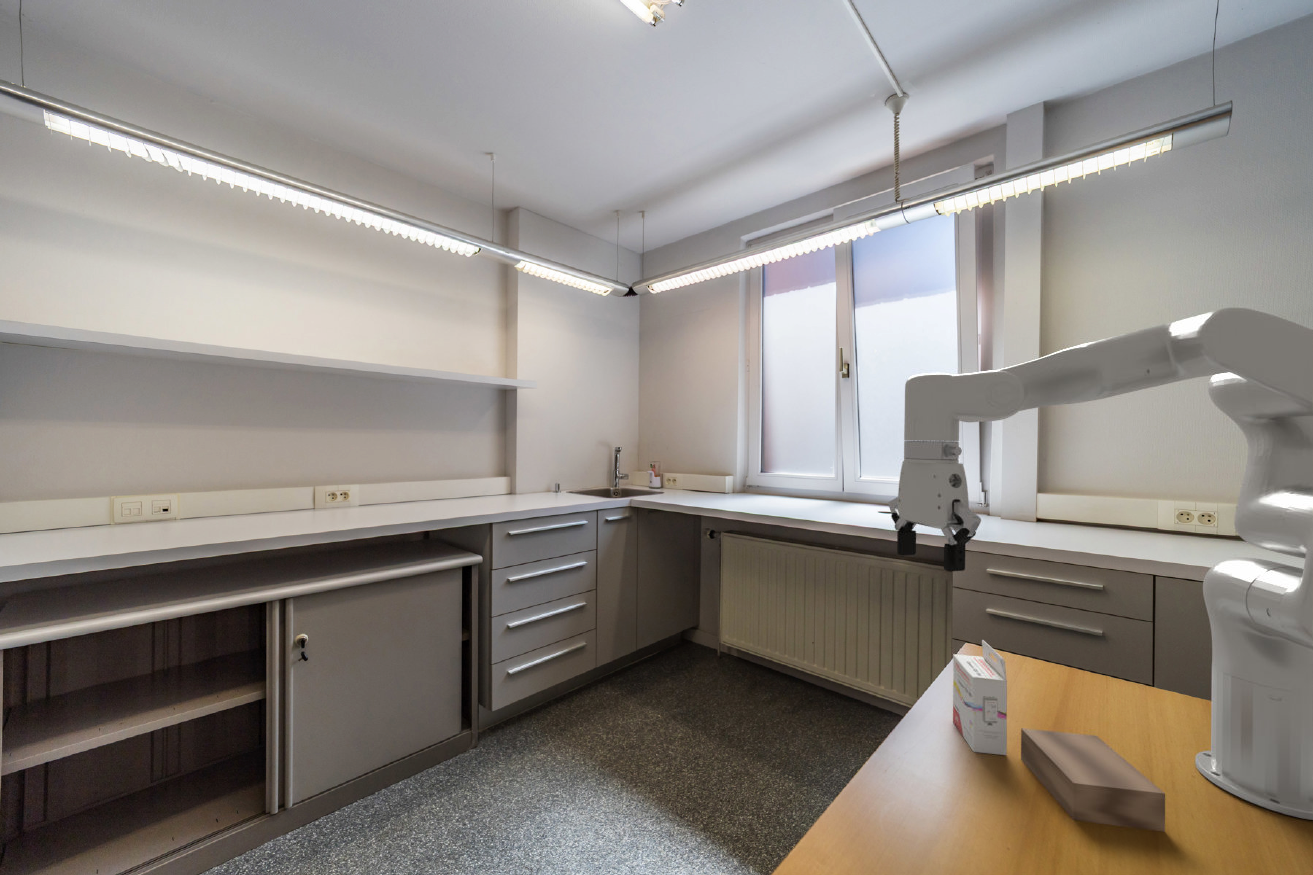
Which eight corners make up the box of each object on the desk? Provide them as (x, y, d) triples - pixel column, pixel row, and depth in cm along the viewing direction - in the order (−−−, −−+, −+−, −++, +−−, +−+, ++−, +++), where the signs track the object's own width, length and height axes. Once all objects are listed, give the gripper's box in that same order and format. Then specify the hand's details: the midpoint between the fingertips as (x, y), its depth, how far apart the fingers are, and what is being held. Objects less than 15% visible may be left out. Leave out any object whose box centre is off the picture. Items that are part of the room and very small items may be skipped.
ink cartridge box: (950, 721, 84) (951, 635, 84) (983, 724, 83) (983, 637, 83) (972, 752, 76) (973, 657, 76) (1008, 757, 75) (1009, 660, 75)
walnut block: (1096, 769, 73) (1096, 735, 73) (1164, 833, 61) (1165, 793, 61) (1020, 761, 74) (1021, 728, 74) (1073, 822, 63) (1073, 782, 63)
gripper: (1000, 455, 70) (998, 576, 70) (910, 451, 86) (909, 548, 86) (956, 455, 68) (954, 579, 68) (873, 451, 85) (871, 550, 85)
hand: (929, 562), depth 77 cm, fingers open, 9 cm apart
